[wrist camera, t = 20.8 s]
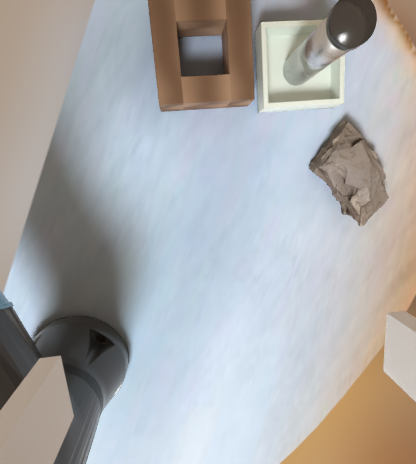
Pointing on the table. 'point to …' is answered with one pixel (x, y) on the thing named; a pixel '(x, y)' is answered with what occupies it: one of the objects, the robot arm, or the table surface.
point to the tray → (271, 70)
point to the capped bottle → (331, 40)
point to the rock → (351, 173)
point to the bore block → (202, 24)
